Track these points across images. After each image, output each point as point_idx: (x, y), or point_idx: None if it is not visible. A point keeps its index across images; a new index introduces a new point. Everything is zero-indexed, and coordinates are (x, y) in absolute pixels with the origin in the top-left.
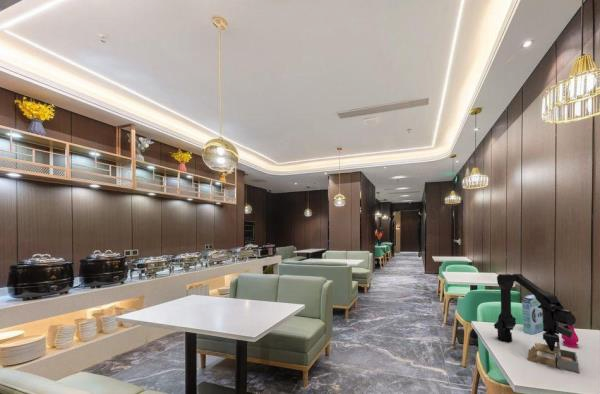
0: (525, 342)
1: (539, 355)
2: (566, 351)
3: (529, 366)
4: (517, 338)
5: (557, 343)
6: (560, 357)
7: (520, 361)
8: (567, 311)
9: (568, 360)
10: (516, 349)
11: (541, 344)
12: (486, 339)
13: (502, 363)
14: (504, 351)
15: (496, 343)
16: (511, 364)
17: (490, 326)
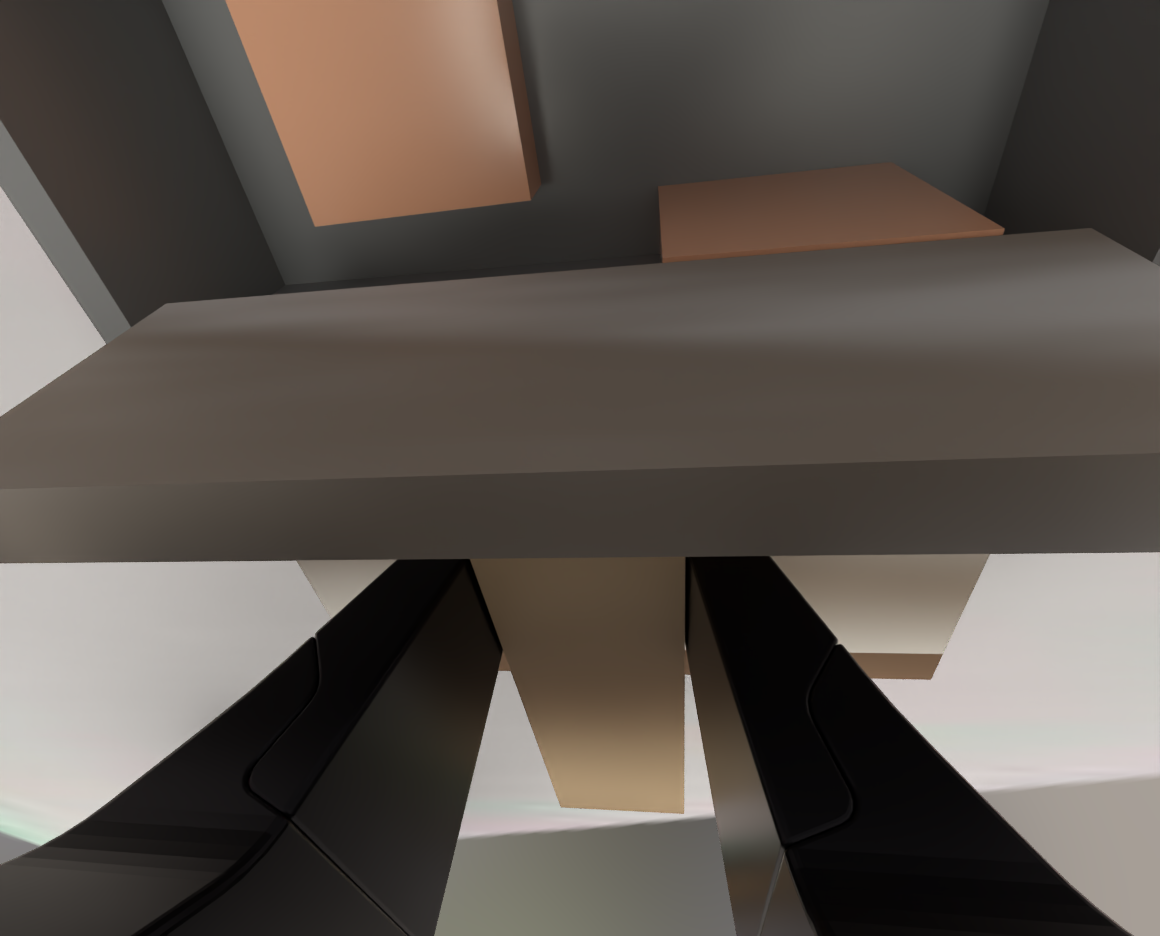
0: (137, 643)
1: (951, 619)
2: (21, 112)
3: (1134, 596)
4: (107, 695)
5: (237, 539)
6: (1101, 254)
7: (962, 668)
8: None
9: (475, 14)
10: (513, 698)
11: (608, 748)
12: (471, 835)
13: (1148, 772)
14: (698, 762)
15: (503, 798)
16: (1144, 724)
17: (75, 818)
